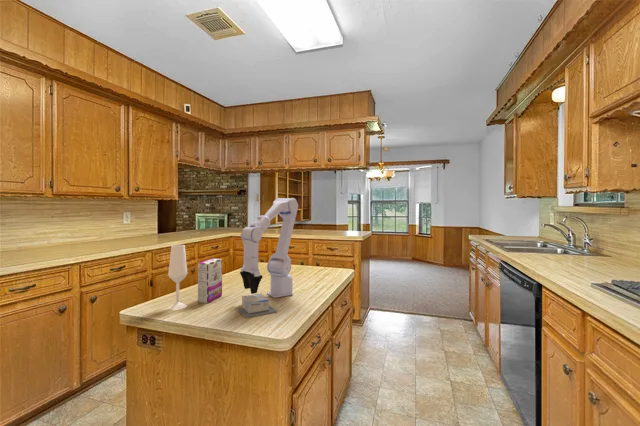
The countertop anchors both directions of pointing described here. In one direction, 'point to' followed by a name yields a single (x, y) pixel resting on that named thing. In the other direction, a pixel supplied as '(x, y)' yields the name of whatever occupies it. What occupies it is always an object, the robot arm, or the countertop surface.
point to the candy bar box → (209, 280)
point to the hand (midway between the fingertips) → (250, 290)
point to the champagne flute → (177, 271)
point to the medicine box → (255, 303)
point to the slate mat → (256, 312)
